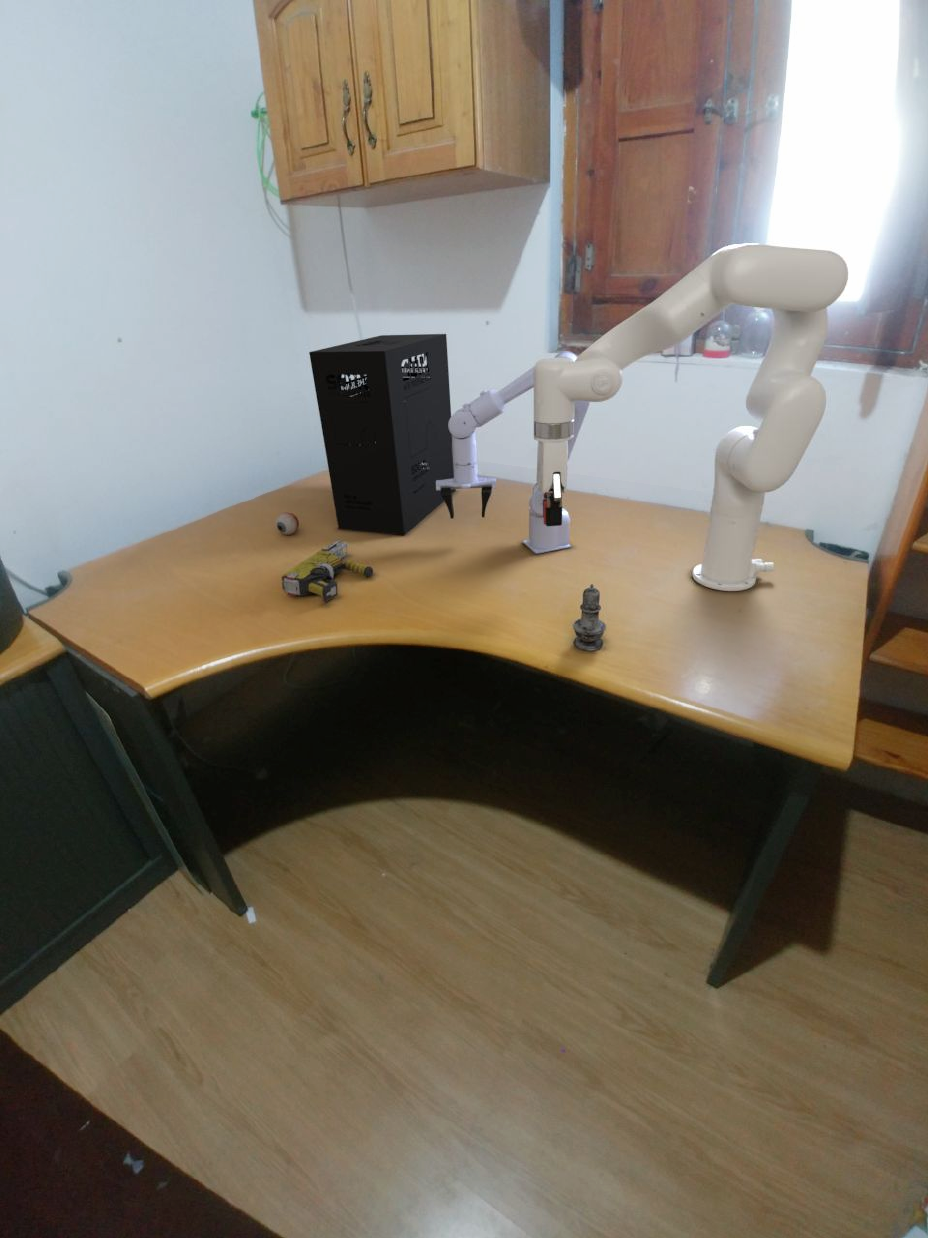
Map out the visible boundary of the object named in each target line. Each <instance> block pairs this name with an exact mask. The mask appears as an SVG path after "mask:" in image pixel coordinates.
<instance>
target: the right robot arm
mask: <svg viewBox="0 0 928 1238" xmlns="http://www.w3.org/2000/svg"><path fill="white" fill-rule="evenodd" d="M848 279H849V269H848V265H847V263H846V261H845V259H844V257H842V256H841V255H839V253H837V252H835V251H832V250H826V249H825V250H824V249H811V248H799V247H788V246H787V247H786V246H777V245H770V244H762V243H742V244H741V243H740V244H731V245H728V246H724V247H722V248H720V249H718V250H717V251H715V252H714V253H712V254H711V255H709V257H708V258H706V259H705V260H704V261H703V262H701V263H700V264H698V265H697V266H695V268H693V269H692V270H691V271H690V272H689V273H688V274H686V275H684V277H682V278H681V279H680V280H679V281H678V282H676V283H675V284H673V286H671V287H670V288H668V289H667V290H666V291H665V292H663V293H662V294H661V295H659V296H658V297H657V298H656V299H654V300H653V301H652V302H650V303H649V304H647V305H646V306H644V307H643V308H641V309H640V310H638V311H636V312H635V313H634V314H632V315H631V316H630V317H628V318H626V319H624V320H622V322H620V323H618V324H617V325H615V326H614V327H613V328H611V329H610V330H609V331H607V332H606V333H604V334H603V335H602V336H601V337H599V338H598V339H597V340H596V341H594V342H593V343H592V344H591V345H589V346H588V347H587V348H586V349H585V350H584V351H582V352H581V353H580V354H579V355H578V356H577V359H576V360H575V361H573V360H571V359H568V358H554V357H548V358H547V357H546V358H543V359H539V360H538V361H536V362H535V365H534V366H535V367H534V366H533V367H534V387H533V440H536V441H537V450H536V451H537V452H536V454H537V455H536V458H537V460H536V483H537V484H538V486H539V489H540V491H541V493H543V494H544V499H543V518H544V501H546V500H547V506H546V526H561V525H562V508H563V494H564V493H565V492H566V491H567V488H568V471H569V460H568V440H571V439H573V437H574V413H575V400H577V401H589V402H590V403H602V402H606V401H608V400H609V401H610V399H612V398H614V396H616V395H617V393H618V392H619V391H620V389H621V387H622V385H623V384H622V383H623V373H622V371H624V370H625V369H626V368H628V367H629V366H630V365H631V364H633V363H635V362H637V361H638V360H640V359H642V358H645V357H646V356H649V355H651V354H654V353H658V352H662V351H666V350H669V349H672V348H674V347H676V346H679V345H680V344H682V343H683V342H684V341H686V340H687V339H688V338H689V337H691V336H693V334H694V333H696V332H697V331H698V330H700V329H701V328H702V327H704V326H705V325H706V324H708V323H709V322H711V321H712V320H713V319H714V318H716V317H717V316H719V315H720V314H721V313H722V312H723V311H725V310H726V309H728V308H729V307H730V306H733V305H734V306H735V305H737V306H745V307H753V308H760V309H769V310H771V311H772V315H773V332H772V335H771V339H770V341H769V345H768V347H767V349H766V352H765V354H764V356H763V357H762V358H763V359H762V361H761V363H760V365H759V367H758V369H757V371H756V374H755V377H754V378H753V380H752V383H751V385H750V387H749V389H748V392H747V394H746V397H745V407H746V411H747V412H748V414H749V415H750V416H751V417H752V418H754V419H755V420H757V421H758V422H761V424H760V426H759V428H757V427H755V426H750V425H742V426H737V427H735V428H732V429H731V430H729V431H728V432H726V433H725V434H724V435H723V436H722V438H720V441H718V443H717V446H716V450H715V453H714V454H715V455H714V481H713V491H712V497H711V498H712V499H711V505H710V509H709V516H708V523H707V529H706V535H705V536H706V537H705V541H704V547H703V554H702V560H701V563H699V564H698V565H695V566H694V567H693V569H692V578H693V580H694V581H695V582H697V583H698V584H700V585H701V586H704V587H706V588H709V589H711V590H717V591H722V592H723V591H724V592H740V591H745V590H748V589H750V588H752V587H754V585H756V582H757V575H756V574H758V573H759V572H763V573H765V572H774V570H775V564H774V562H772V561H769V562H764V561H763V559H762V558H755V559H754V558H753V557H754V552H755V546H756V542H757V537H758V531H759V528H760V521H761V517H762V513H763V508H764V503H765V496H766V495H765V494H767V493H770V492H775V491H776V490H778V489H780V488H781V487H782V486H784V485H785V484H786V483H787V482H788V481H789V480H790V478H791V477H792V476H793V474H794V473H795V471H796V469H797V468H798V467H799V464H800V462H801V460H802V459H803V456H804V454H805V453H806V451H807V449H808V447H809V445H810V443H811V441H812V439H813V437H814V435H815V433H816V431H817V429H818V428H819V425H820V424H821V422H822V419H823V417H824V414H825V411H826V405H827V394H826V390H825V387H824V386H823V384H822V383H821V382H820V381H819V380H818V379H816V377H813V376H811V375H812V374H813V373H812V372H813V370H814V368H815V366H816V364H817V361H818V359H819V356H820V354H821V351H822V349H823V347H824V344H825V341H826V338H827V334H828V327H829V326H828V325H829V317H828V316H829V315H828V314H829V313H828V307H829V306H832V304H834V303H835V302H836V301H837V300H839V298H840V297H841V295H842V294H843V292H844V291H845V288H846V286H847V283H848Z"/></svg>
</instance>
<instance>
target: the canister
mask: <svg viewBox="0 0 928 1238" xmlns="http://www.w3.org/2000/svg"><path fill="white" fill-rule="evenodd" d="M546 506H547V500H546V501H544V524H545V525H546Z"/></svg>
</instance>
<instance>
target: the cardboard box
mask: <svg viewBox="0 0 928 1238" xmlns="http://www.w3.org/2000/svg"><path fill="white" fill-rule="evenodd" d="M308 353H309V359H310V365H311V373H312V377H313V382H314V383H313V384H314V389H315V395H316V396H315V397H316V402H317V406H318V407H317V408H318V413H319V421H320V425H321V426H320V427H321V431H322V437H323V443H324V445H323V446H324V449H325V456H326V462H327V469H328V474H329V481H330V485H331V492H332V499H333V505H334V511H335V517H336V522H337V528H338V529H339V530H348V531H356V532H367V533H379V534H387V535H388V534H389V535H400V536H406V535H407V534H408V533H409V532H410V531H411V530H413V529H414V528H415V527H416V526H417V525H418V524H419V523H421V522H422V521H423V520H424V519H425V518H426V517H427V516H428V515H430V514H431V513H432V512H433V511H435V509H437V508H438V507H439V506H440V505H441V504H442V503H443V502H445V501H444V499H443V498H442V496H441V490H436V480H446V479H453V478H454V470H453V454H452V434H451V433H450V431H449V427H448V423H449V420H450V418H451V416H452V406H451V405H452V404H451V390H450V372H449V371H450V370H449V356H448V341H447V333H429V334H428V333H424V334H423V333H421V334H419V333H417V334H384V335H383V334H381V335H377V336H372V337H368V338H364V339H359V340H355V341H351V342H347V343H343V344H338V345H334V346H329V347H325V348H321V349H317V350H312V351H309V352H308ZM413 359H414V360H413ZM406 360H407V361H406ZM403 361H405V362H404V364H403ZM425 361H426V364H425ZM402 364H403V365H402ZM351 376H353V379H352V378H351ZM358 376H359V377H358ZM347 378H348V381H347ZM456 491H457V489H452V494H454V493H455V492H456Z"/></svg>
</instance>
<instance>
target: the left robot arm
mask: <svg viewBox="0 0 928 1238" xmlns="http://www.w3.org/2000/svg"><path fill="white" fill-rule="evenodd" d="M577 357H578V356H577V355H576V354H575V353H574V352H571V351H567V350H566V351H565V350H564V351H561V352H559V353H557V354H555V356H554V357H553V358H568V359H571V360H573V361H575V360H576V359H577ZM534 367H535V365H534V366H532V367H531V368H530V369H528V370H527V371H525V372H524V373H523V374H521V375H520V376H518V377H516V378H515V379H514V380H513V381H511V382H510V383H508V384H507V385H505V386H504V387H503V388H501V389H500V390H496V389H493V388H492V389H488V390H486V389H484V390H482V391H481V392H480V393H479V396H477V398H475V399H473V400H471V402H469V403H468V402H465V403H463V405H462V408H459V409H457V410H456V411H455V412H454V413H453V414H451V418H450V420H449V423H448V427H449V431H450V433H451V434H452V454H453V470H454V478H453V479H446V480H436V490H441V496H442V498H443V499H444V501H443V502H444V503H445V505H446V507H447V510H448V513H449V516H450V519H454V518H455V510H454V509H455V508H454V503H453V493H452V489H456V490H464V489H465V490H466V489H480V491H481V493H480V494H481V518H485V516H486V510H487V506H488V503H489V499H490V497H491V495H492V492H493V489H497V477H479V475H478V474H479V473H478V455H477V453H478V452H477V441H476V428H482V427H483V426H485V425H486V424H488V423H489V422H491V421H492V420H494V419H496V418H497V417H498V416H500V415H502V414H503V413H505V409H506V405H507V404H508V403H510V402H511V401H513V400H514V399H516V398H519V397H520V396H521V395H523V394H525V393H527V392H529V391H530V390H531V389H534ZM590 403H591V402H589V401H577V400H575V413H574V437H573V439H571V440H568V461H569V460H570V457H571V455H572V451H573V450H574V448H575V447H574V446H575V444H576V442H577V438H578V436H579V433H580V431H581V429H582V425H583V423H584V420H585V417H586V415H587V412H588V410H589V406H590ZM543 499H544V494H543V493H541V491H540V489H539V486H538V484H537V482H536V483H535V484H534V486H533V488H532V494H531V496H530V498H529V503H528V504H529V509H528V511H529V512H528V513H529V514H528V539H524V540H523V541H522V543H523V544H524V545H525V546H526V547H527V548H528V549H530V550H531V551H532V552H533V553H534V554H537V555H538V554H542V553H548V552H552V551H558V550H564V549H568V548H571V544H570V535H571V534H570V533H571V532H570V531H571V519H570V514H569V512H568V511H567V509H566V508H563V507H562V525H561V526H546V525H545V524H544V518H543Z"/></svg>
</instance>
